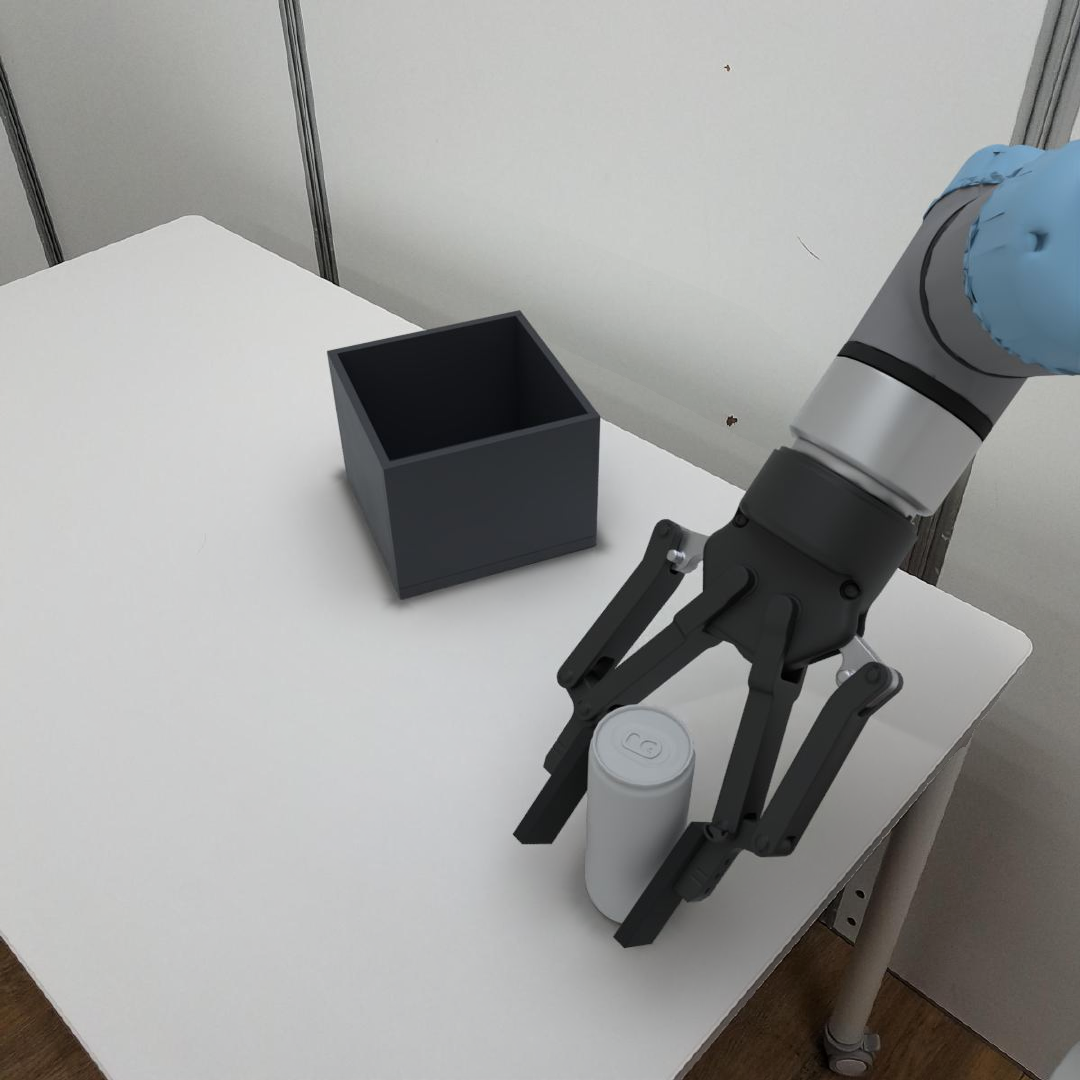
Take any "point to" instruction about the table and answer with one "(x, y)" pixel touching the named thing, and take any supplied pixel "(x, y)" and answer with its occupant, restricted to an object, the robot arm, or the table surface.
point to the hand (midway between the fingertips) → (581, 887)
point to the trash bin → (466, 450)
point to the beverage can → (634, 802)
